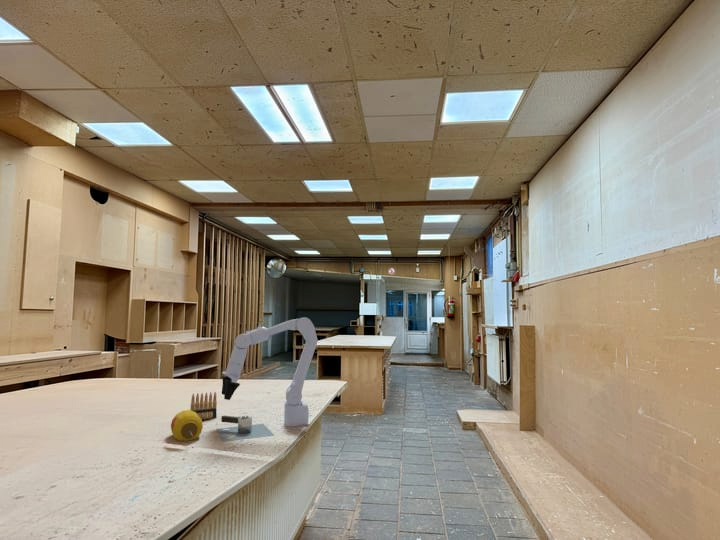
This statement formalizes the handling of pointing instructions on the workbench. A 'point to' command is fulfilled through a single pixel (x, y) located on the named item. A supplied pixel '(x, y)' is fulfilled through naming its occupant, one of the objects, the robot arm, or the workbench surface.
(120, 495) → the workbench surface
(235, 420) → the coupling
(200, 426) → the lantern
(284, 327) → the robot arm
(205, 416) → the ammunition clip
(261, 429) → the mounting plate
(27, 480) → the workbench surface
